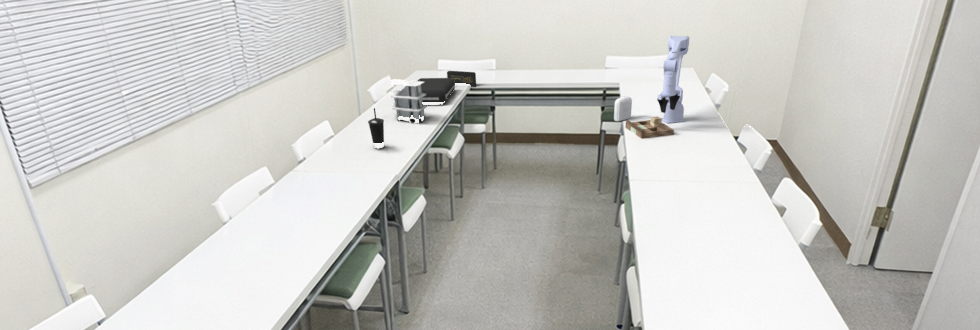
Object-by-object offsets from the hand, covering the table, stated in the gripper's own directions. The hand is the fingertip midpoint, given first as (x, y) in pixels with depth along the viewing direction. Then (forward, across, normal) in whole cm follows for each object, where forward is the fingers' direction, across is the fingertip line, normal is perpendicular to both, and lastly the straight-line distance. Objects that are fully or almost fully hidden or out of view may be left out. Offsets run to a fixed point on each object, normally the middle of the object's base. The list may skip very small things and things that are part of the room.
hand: (667, 110), depth 285 cm
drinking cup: (+10, +122, -76) cm, 144 cm away
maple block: (+7, +6, -2) cm, 9 cm away
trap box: (+9, +9, -4) cm, 13 cm away
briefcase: (+10, +58, -140) cm, 152 cm away
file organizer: (+10, +90, -108) cm, 140 cm away
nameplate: (+10, +24, -152) cm, 154 cm away
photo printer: (+10, +3, -26) cm, 28 cm away
